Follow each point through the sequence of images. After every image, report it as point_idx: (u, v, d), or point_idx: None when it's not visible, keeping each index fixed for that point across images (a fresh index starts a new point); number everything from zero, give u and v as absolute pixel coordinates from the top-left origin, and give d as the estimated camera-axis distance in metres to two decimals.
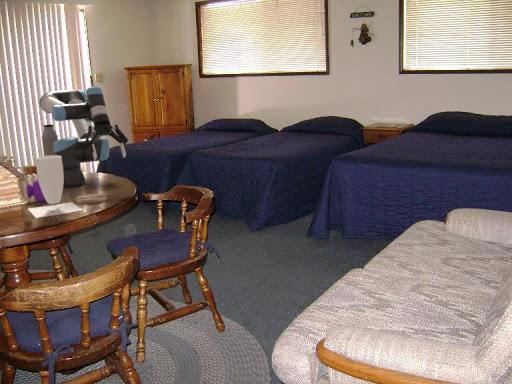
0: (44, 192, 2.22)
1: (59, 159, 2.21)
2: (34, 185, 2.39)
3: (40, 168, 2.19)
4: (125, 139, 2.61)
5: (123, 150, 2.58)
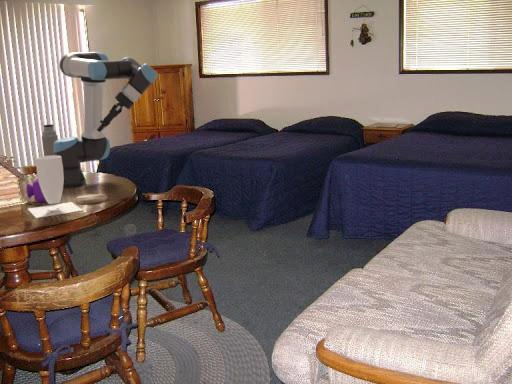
0: (44, 192, 2.22)
1: (59, 159, 2.21)
2: (34, 185, 2.39)
3: (40, 168, 2.19)
4: None
5: None
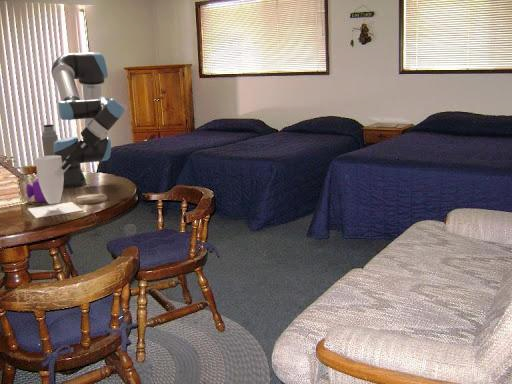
0: (44, 192, 2.22)
1: (59, 159, 2.21)
2: (34, 185, 2.39)
3: (40, 168, 2.19)
4: None
5: None
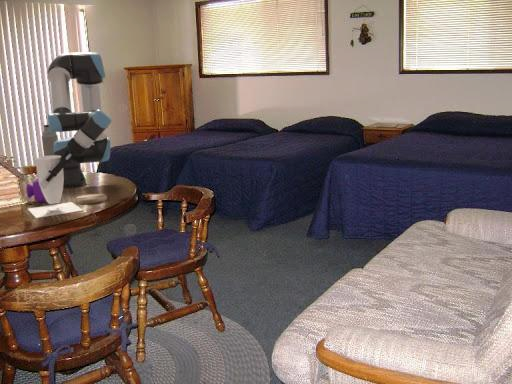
0: (44, 192, 2.22)
1: (59, 159, 2.21)
2: (34, 185, 2.39)
3: (40, 168, 2.19)
4: None
5: None
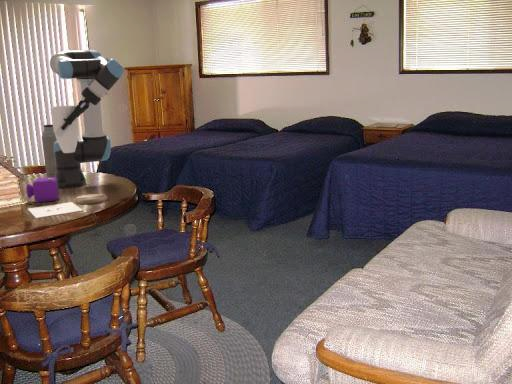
0: (59, 141, 2.25)
1: (74, 108, 2.24)
2: (34, 185, 2.39)
3: (55, 116, 2.21)
4: None
5: None
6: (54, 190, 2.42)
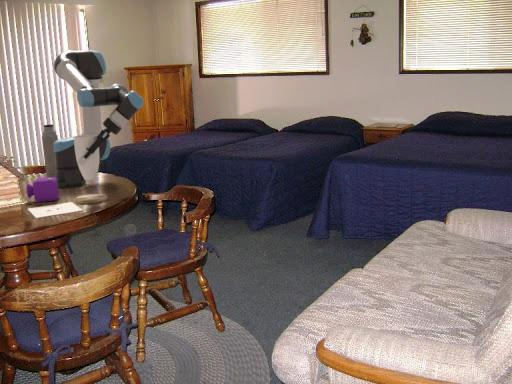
0: (81, 169, 2.35)
1: (96, 137, 2.34)
2: (34, 185, 2.39)
3: (78, 145, 2.31)
4: None
5: None
6: (54, 190, 2.42)
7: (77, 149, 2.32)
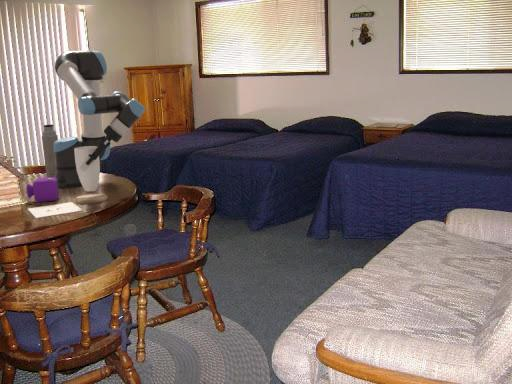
0: (82, 180, 2.36)
1: None
2: (34, 185, 2.39)
3: (78, 157, 2.33)
4: None
5: None
6: (54, 190, 2.42)
7: (77, 161, 2.34)
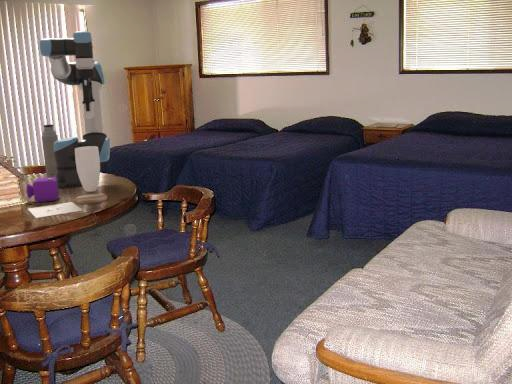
0: (82, 180, 2.36)
1: (96, 149, 2.36)
2: (34, 185, 2.39)
3: (79, 157, 2.33)
4: (92, 97, 2.53)
5: (93, 111, 2.52)
6: (54, 190, 2.42)
7: (78, 161, 2.34)
